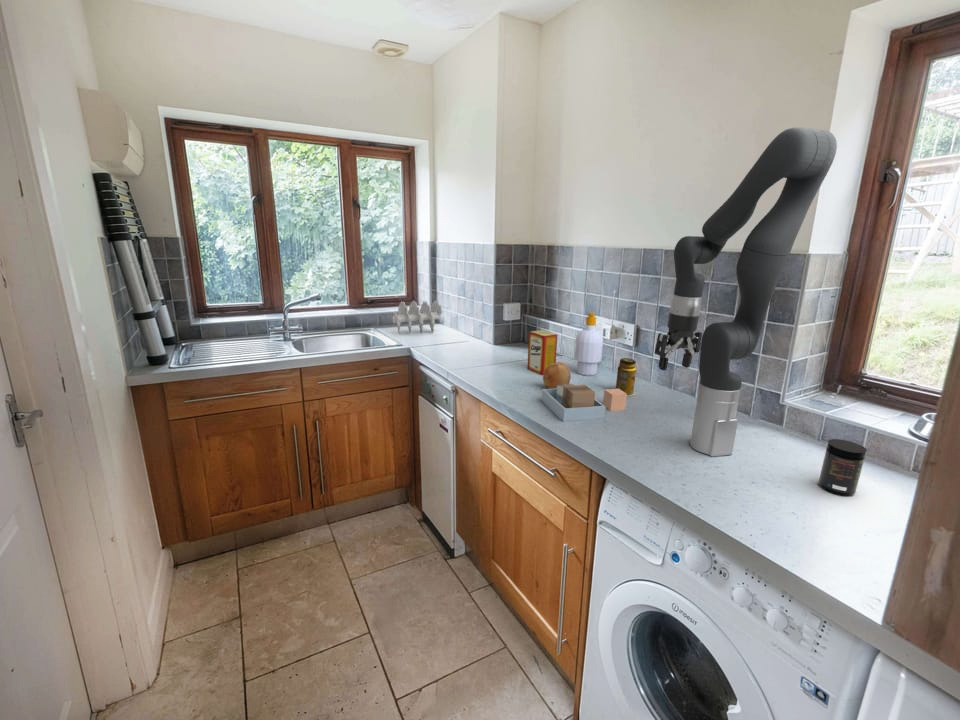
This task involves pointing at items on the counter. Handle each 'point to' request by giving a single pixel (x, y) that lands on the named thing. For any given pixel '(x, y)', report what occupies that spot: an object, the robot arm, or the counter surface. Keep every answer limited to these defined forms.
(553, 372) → the onion
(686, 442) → the counter surface
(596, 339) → the soap bottle
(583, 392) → the walnut block
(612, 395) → the peach rectangular block
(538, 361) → the baking soda box
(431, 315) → the grey lumpy piece
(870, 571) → the counter surface
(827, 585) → the counter surface
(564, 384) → the grey tin
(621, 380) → the condiment
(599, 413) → the tote
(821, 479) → the supplement container
